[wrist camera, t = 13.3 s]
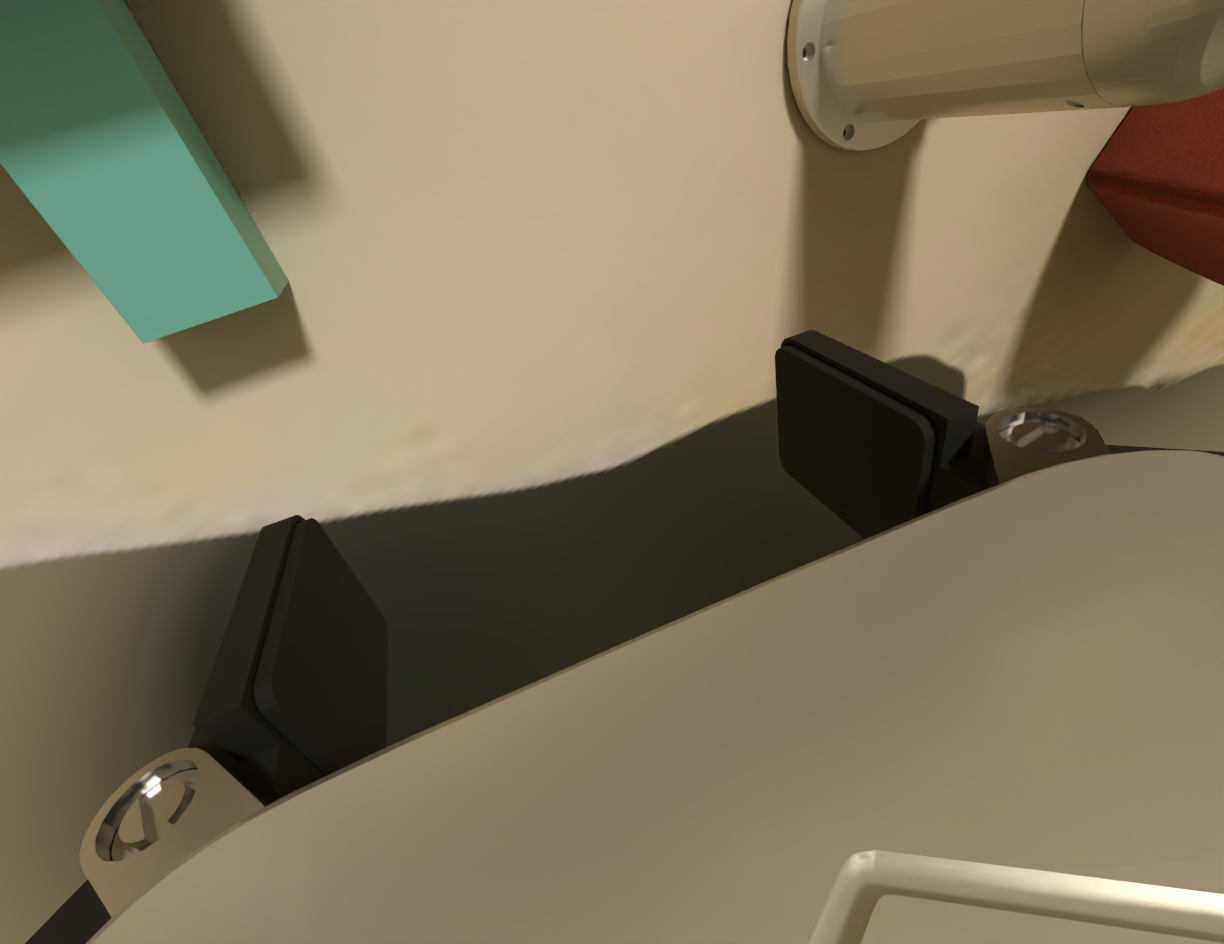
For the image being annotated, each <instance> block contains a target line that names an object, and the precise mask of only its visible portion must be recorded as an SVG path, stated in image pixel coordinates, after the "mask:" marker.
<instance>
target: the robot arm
mask: <svg viewBox="0 0 1224 944" xmlns="http://www.w3.org/2000/svg"><path fill="white" fill-rule="evenodd" d="M787 47H788V69H789V75H790V81H791V88H792V91H793V94H794V97H795V100H796V103H797V106H798V109H799V110H800V112H801V114H802V116H803V118H804V120H805V121H806V123H807V125H808V126H809V127H810V128H811V129H812V131H813V132H814V133H815V134H816V135H817V136H818V137H819V138H820V139H822V140H823V141H825V142H826V143H828V144H829V145H831V146H834V147H837V148H840V149H843V150H859V151H861V150H870V149H876V148H879V147H882V146H884V145H887V144H890V143H892V142H893V141H895V140H896V139H898V138H900V137H901V136H903V135H904V134H906V133H907V132H908V131H909V130H910V129H911V128H912V127H913V126H915V125H916V124H917V123H918V122H919V121H920V120H921V119H932V118H949V117H966V116H983V115H1000V114H1016V113H1033V112H1050V111H1067V110H1084V109H1101V108H1118V107H1128V106H1143V105H1157V104H1166V103H1173V102H1180V101H1184V100H1188V99H1192V98H1196V97H1200V96H1203V95H1206V94H1209V93H1212V92H1214V91H1217V90H1220V89H1222V88H1224V0H793V3H792V7H791V11H790V19H789V28H788V37H787ZM775 366H776V389H777V411H778V432H779V456H780V461H781V464H782V466H783V468H784V469H785V471H786V472H787V473H788V474H789V475H790V476H792V477H793V478H794V479H795V480H796V481H797V482H799V483H800V484H801V485H802V486H803V487H804V488H805V489H807V490H808V491H809V492H810V493H811V494H812V495H814V496H815V497H816V498H817V499H818V500H819V501H821V502H822V503H823V504H824V505H826V507H828V508H829V509H830V510H831V511H832V512H833V513H835V514H836V515H837V516H838V517H839V518H841V519H842V520H843V521H844V522H845V523H846V524H847V525H849V526H850V527H851V528H852V529H853V530H854V531H856V532H857V533H858V534H859V535H861V537H862V538H864V539H865V540H863V541H860V542H858V543H856V544H853V545H851V546H849V547H846V548H844V549H841V550H839V551H837V552H834V553H832V554H830V555H827V556H825V557H823V558H820V559H818V560H816V561H813V562H811V563H809V564H806V565H804V566H801V567H799V568H797V569H794V570H792V571H790V572H787V573H785V574H783V575H780V576H778V577H776V578H773V579H771V580H769V581H766V582H764V583H762V584H759V585H757V586H755V587H752V588H750V589H748V590H745V591H743V592H741V593H739V594H736V595H734V596H732V597H729V598H727V599H725V600H722V601H720V602H718V603H715V604H713V605H711V606H709V607H706V608H704V609H701V610H699V611H697V612H694V613H692V614H690V615H687V616H685V617H683V618H681V619H678V620H676V621H674V622H671V623H669V624H667V625H664V626H662V627H660V628H657V629H655V630H653V631H651V632H648V633H646V634H644V635H641V636H639V637H637V638H634V639H632V640H630V641H628V642H625V643H623V644H621V645H618V646H616V647H614V648H611V649H609V650H607V651H605V652H602V653H600V654H598V655H595V656H593V657H591V658H589V659H586V660H584V661H582V662H579V663H577V664H575V665H572V666H570V667H568V668H566V669H563V670H561V671H559V672H557V673H554V674H552V675H550V676H547V677H545V678H543V679H541V680H538V681H536V682H534V683H531V684H529V685H527V686H525V687H522V688H520V689H518V690H515V691H513V692H511V693H509V694H506V695H504V696H502V697H500V698H497V699H495V700H493V701H491V702H488V703H486V704H484V705H481V706H479V707H477V708H474V709H472V710H470V711H468V712H465V713H463V714H461V715H459V716H456V717H454V718H452V719H449V720H447V721H445V722H443V723H440V724H438V725H436V726H434V727H431V728H429V729H427V730H425V731H422V732H420V733H418V734H416V735H414V736H411V737H409V738H407V739H405V740H402V741H400V742H398V743H395V744H393V745H391V746H389V747H386V719H387V716H386V715H387V670H388V628H387V624H386V621H385V618H384V616H383V614H382V613H381V611H380V610H379V609H378V607H377V606H376V604H375V603H374V601H373V600H372V599H371V597H370V596H369V594H368V593H367V591H366V590H365V589H364V587H363V586H362V584H361V583H360V581H359V580H358V579H357V577H356V576H355V574H354V573H353V571H352V570H351V569H350V567H349V566H348V564H347V563H346V561H345V560H344V559H343V558H342V556H341V554H340V553H339V551H338V550H337V549H336V547H335V546H334V544H333V543H332V541H331V540H330V539H329V537H328V536H327V534H326V533H325V532H324V530H323V529H322V527H321V526H320V524H319V523H318V522H317V521H316V520H315V519H313V518H310V519H308V520H305V519H304V518H302V517H301V516H299V515H295V516H292V517H290V518H287V519H284V520H281V521H278V522H276V523H273V524H270V525H267V526H265V527H263V528H262V529H261V531H260V534H259V537H258V540H257V543H256V546H255V548H254V551H253V554H252V557H251V560H250V563H249V565H248V569H247V571H246V574H245V577H244V580H243V583H242V585H241V588H240V591H239V594H238V597H237V600H236V603H235V605H234V608H233V611H232V614H231V617H230V619H229V622H228V625H227V628H226V631H225V634H224V637H223V640H222V643H221V645H220V649H219V651H218V654H217V657H216V660H215V662H214V665H213V668H212V671H211V674H210V677H209V679H208V682H207V685H206V688H205V691H204V694H203V696H202V699H201V702H200V705H199V708H198V711H197V713H196V716H195V719H194V722H193V726H194V727H195V730H194V733H193V736H192V739H191V741H190V744H189V748H183V749H180V750H177V751H174V752H171V753H168V754H166V755H163V756H162V757H160V758H158V759H156V760H155V761H153V762H151V763H149V764H148V765H146V766H145V767H143V768H142V769H141V770H139V771H138V772H137V773H136V774H134V775H133V776H132V777H131V778H129V779H128V780H127V781H126V782H125V783H124V784H123V785H122V786H121V787H120V788H119V789H118V790H117V791H116V792H115V793H114V794H113V795H112V796H111V797H110V798H109V799H108V800H107V802H106V803H105V804H104V806H103V807H102V808H101V810H100V811H99V812H98V814H97V815H96V816H95V818H94V819H93V821H92V823H91V825H90V827H89V829H88V831H87V833H86V835H85V837H84V839H83V843H82V847H81V852H80V856H79V857H80V861H81V866H82V870H83V872H84V873H85V875H86V877H87V878H88V880H87V881H86V882H85V883H84V884H83V885H82V886H81V887H80V888H79V889H78V890H77V891H76V892H75V893H74V894H73V895H72V896H71V897H70V898H69V899H68V900H67V901H66V902H65V903H64V904H63V905H62V906H61V907H60V908H59V909H58V910H57V911H56V913H54V915H52V916H51V918H50V919H49V920H48V921H47V922H46V923H45V924H44V925H43V926H42V927H41V928H40V929H39V930H38V931H37V932H36V933H35V934H34V935H33V936H32V937H31V938H30V939H29V940H28V941H27V942H26V943H25V944H1224V452H1214V451H1199V450H1182V449H1165V448H1149V447H1132V446H1115V445H1106V444H1105V442H1104V440H1103V438H1102V436H1101V434H1100V433H1099V431H1098V430H1097V429H1096V428H1095V427H1094V426H1093V424H1091V423H1090V422H1088V421H1086V420H1085V419H1083V418H1081V417H1079V416H1076V415H1073V414H1071V413H1068V412H1064V411H1060V410H1055V409H1050V408H1037V407H1027V408H1015V409H1010V410H1006V411H1002V412H1000V413H998V414H996V415H994V416H992V417H991V418H990V419H989V421H988V422H987V423H986V426H984V425H982V424H980V423H978V422H976V419H977V414H978V409H979V406H977V405H975V404H972V403H970V402H968V401H966V400H964V399H962V398H959V397H957V396H955V395H953V394H951V393H949V392H946V391H944V390H942V389H940V388H938V387H935V386H933V385H931V384H929V383H927V382H925V381H923V380H920V379H918V378H916V377H914V376H911V375H910V374H907V373H905V372H903V371H901V370H899V369H897V368H894V367H892V366H890V365H888V364H886V363H884V362H881V361H879V360H877V359H875V358H873V357H871V356H868V355H866V354H864V353H862V352H860V351H858V350H856V349H853V348H851V347H849V346H847V345H845V344H843V343H840V342H838V341H836V340H834V339H832V338H830V337H827V336H825V335H823V334H821V333H819V332H817V331H814V330H809V331H806V332H803V333H800V334H798V335H795V336H792V337H789V338H787V339H784V341H783V342H782V344H781V348H779V349H778V350H777V351H776V354H775Z"/></svg>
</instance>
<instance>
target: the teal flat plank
mask: <svg viewBox="0 0 1224 944" xmlns="http://www.w3.org/2000/svg"><path fill="white" fill-rule="evenodd" d="M0 164H1V165H2V167H3V168H4V169H5V170H6V172H7V173H8V174H9V175H10V177H11V178H12V179H13V180H14V182H15V183H16V184H17V185H18V187H19V188H20V189H21V190H22V192H23V193H24V194H25V195H26V197H27V198H28V199H29V200H30V202H31V203H32V204H33V206H34V207H35V208H36V209H37V211H38V212H39V213H40V214H41V216H42V217H43V218H44V219H45V221H46V222H47V223H48V224H49V226H50V227H51V228H52V229H53V231H54V232H55V233H56V234H57V236H58V237H59V238H60V239H61V241H62V242H63V243H64V245H65V246H66V247H67V248H68V250H69V251H70V252H71V253H72V255H73V256H74V257H75V258H76V260H77V261H78V262H79V263H80V265H81V266H82V267H83V268H84V270H85V271H86V272H87V273H88V275H89V276H90V277H91V278H92V280H93V281H94V282H95V284H96V285H97V286H98V287H99V289H100V290H101V291H102V292H103V294H104V295H105V296H106V297H107V299H108V300H109V301H110V302H111V304H112V305H113V306H114V307H115V309H116V310H117V311H118V312H119V314H120V315H121V316H122V318H123V319H124V320H125V321H126V323H127V324H128V325H129V326H130V328H131V329H132V330H133V331H134V333H135V334H136V335H137V336H138V338H139V339H140V340H141V341H142V343H143V344H144V343H147V342H150V341H153V340H155V339H158V338H161V337H164V336H167V335H170V334H173V333H176V332H179V331H182V330H185V329H188V328H191V327H193V326H196V325H199V324H202V323H205V322H208V321H211V320H214V319H217V318H220V317H223V316H226V315H229V314H231V313H234V312H237V311H240V310H243V309H246V308H249V307H252V306H255V305H258V304H261V303H264V302H267V301H269V300H272V299H275V298H278V297H279V295H280V294H281V292H282V291H283V289H284V288H285V286H286V285H287V283H288V282H289V281H288V279H287V277H286V275H285V274H284V272H283V270H282V269H281V267H280V265H279V264H278V262H277V260H276V258H275V257H274V255H273V253H272V252H271V250H270V248H269V247H268V245H267V243H266V241H265V240H264V238H263V236H262V235H261V233H260V231H259V230H258V228H257V226H256V224H255V223H254V221H253V219H252V218H251V216H250V214H249V213H248V211H247V209H246V207H245V206H244V204H243V202H242V201H241V199H240V197H239V196H238V194H237V192H236V190H235V189H234V187H233V185H232V184H231V182H230V180H229V179H228V177H227V175H226V173H225V172H224V170H223V168H222V167H221V165H220V163H219V161H218V160H217V158H216V156H215V155H214V153H213V151H212V150H211V148H210V146H209V144H208V143H207V141H206V139H205V138H204V136H203V134H202V133H201V131H200V129H199V127H198V126H197V124H196V122H195V121H194V119H193V117H192V116H191V114H190V112H189V110H188V109H187V107H186V105H185V104H184V102H183V100H182V99H181V97H180V95H179V93H178V92H177V90H176V88H175V87H174V85H173V83H172V82H171V80H170V78H169V76H168V75H167V73H166V71H165V70H164V68H163V66H162V65H161V63H160V61H159V59H158V58H157V56H156V54H155V53H154V51H153V49H152V47H151V46H150V44H149V42H148V41H147V39H146V37H145V36H144V34H143V32H142V30H141V29H140V27H139V25H138V24H137V22H136V20H135V19H134V17H133V15H132V13H131V12H130V10H129V8H128V7H127V5H126V3H125V2H124V0H0Z"/></svg>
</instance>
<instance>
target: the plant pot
mask: <svg viewBox="0 0 1224 944" xmlns="http://www.w3.org/2000/svg"><path fill="white" fill-rule="evenodd" d="M1088 185H1089V187H1090V188H1091V189H1092V191H1093V192H1094V193H1095V194H1096V196H1098V198H1099V199H1100V200H1101V202H1102V203H1103V204H1104V205H1105V206H1106V208H1107V209H1108V210H1109V211H1110V213H1111V214H1112V215H1113V216H1114V217H1115V219H1116V220H1117V221H1118V222H1119V224H1120V225H1121V226H1122V227H1123V229H1124V230H1125V231H1126V232H1127V233H1128V234H1129V236H1130V237H1131V238H1132V240H1133V241H1134V242H1135V243H1137V244H1139V245H1140V246H1142V247H1144V248H1146V249H1148V250H1149V251H1151V252H1153V253H1155V254H1157V255H1159V256H1161V257H1163V258H1165V259H1167V260H1169V261H1171V262H1173V263H1175V264H1177V265H1179V266H1182V267H1184V268H1186V269H1188V270H1190V271H1192V272H1194V273H1196V274H1199V275H1201V276H1203V277H1205V278H1207V279H1210V280H1212V281H1214V282H1216V283H1219V284H1221V285H1223V286H1224V88H1222V89H1220V90H1217V91H1214V92H1212V93H1209V94H1206V95H1203V96H1200V97H1196V98H1192V99H1188V100H1184V101H1180V102H1173V103H1166V104H1157V105H1143V106H1133V108H1132V109H1131V111H1130V112H1129V114H1128V115H1127V117H1126V118H1125V120H1124V121H1123V122H1122V124H1121V125H1120V127H1119V128H1118V130H1117V131H1116V133H1115V134H1114V135H1113V137H1112V138H1111V140H1110V141H1109V143H1108V144H1107V146H1106V147H1105V149H1104V150H1103V151H1102V153H1101V154H1100V156H1099V157H1098V159H1097V160H1096V162H1095V163H1094V164H1093V166H1092V167H1091V170H1090V172H1089V175H1088Z"/></svg>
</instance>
